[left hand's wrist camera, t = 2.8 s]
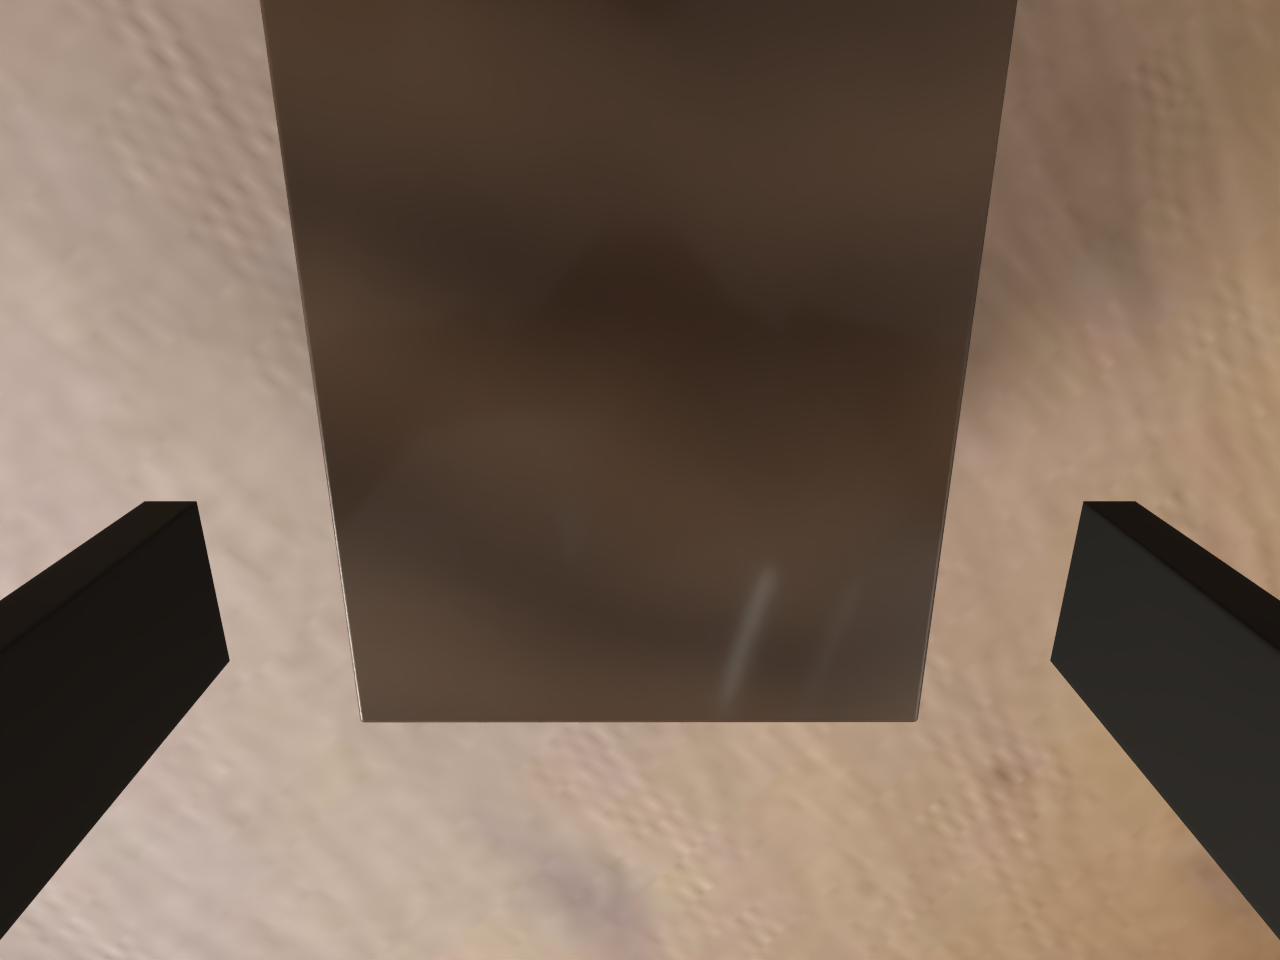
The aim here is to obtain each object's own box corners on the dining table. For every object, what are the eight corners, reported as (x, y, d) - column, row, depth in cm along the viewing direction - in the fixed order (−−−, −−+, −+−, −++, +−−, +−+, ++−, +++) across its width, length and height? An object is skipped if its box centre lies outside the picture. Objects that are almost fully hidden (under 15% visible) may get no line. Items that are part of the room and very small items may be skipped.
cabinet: (415, -150, 20) (191, -474, 10) (862, -150, 20) (1086, -473, 10) (467, 511, 26) (359, 724, 16) (810, 511, 26) (918, 724, 16)
